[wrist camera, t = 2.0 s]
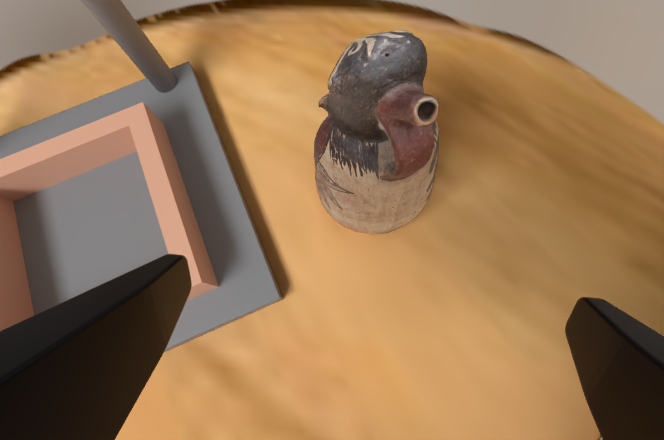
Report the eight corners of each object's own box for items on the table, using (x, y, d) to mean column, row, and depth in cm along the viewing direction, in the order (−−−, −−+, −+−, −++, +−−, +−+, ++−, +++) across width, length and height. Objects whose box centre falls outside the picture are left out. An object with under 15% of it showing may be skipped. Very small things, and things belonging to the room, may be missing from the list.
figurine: (402, 121, 25) (446, -57, 13) (446, 214, 23) (543, 103, 11) (303, 155, 24) (258, 4, 13) (339, 253, 22) (324, 179, 11)
